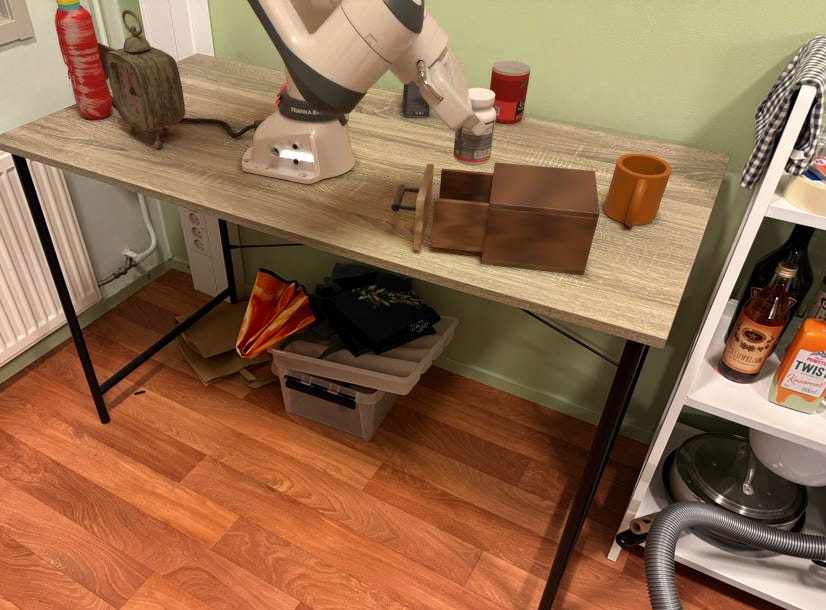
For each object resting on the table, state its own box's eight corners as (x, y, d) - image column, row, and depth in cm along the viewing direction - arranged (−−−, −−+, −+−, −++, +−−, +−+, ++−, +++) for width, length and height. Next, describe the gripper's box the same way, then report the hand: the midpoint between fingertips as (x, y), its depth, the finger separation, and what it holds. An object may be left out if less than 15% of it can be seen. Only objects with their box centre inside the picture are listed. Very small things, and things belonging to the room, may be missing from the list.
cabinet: (481, 264, 108) (489, 202, 101) (486, 220, 118) (494, 162, 111) (583, 275, 105) (599, 213, 98) (580, 229, 115) (595, 170, 108)
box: (429, 117, 152) (432, 68, 145) (403, 117, 152) (406, 68, 145) (426, 104, 158) (429, 56, 151) (402, 104, 158) (404, 56, 151)
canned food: (522, 125, 148) (530, 73, 141) (485, 122, 149) (491, 71, 142) (522, 111, 154) (531, 61, 146) (487, 109, 155) (493, 59, 148)
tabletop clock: (121, 133, 147) (91, 7, 130) (158, 121, 151) (133, -2, 135) (156, 154, 139) (128, 23, 122) (193, 142, 143) (172, 13, 127)
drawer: (387, 246, 110) (388, 197, 104) (399, 208, 119) (401, 161, 114) (504, 259, 107) (513, 209, 101) (508, 219, 116) (516, 171, 110)
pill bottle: (457, 148, 107) (464, 84, 100) (493, 153, 106) (502, 88, 99) (449, 163, 103) (455, 98, 96) (486, 169, 102) (495, 102, 95)
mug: (591, 225, 117) (603, 176, 111) (611, 196, 124) (623, 149, 118) (644, 239, 113) (660, 189, 107) (661, 208, 121) (677, 160, 115)
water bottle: (111, 101, 161) (83, -17, 144) (134, 108, 157) (108, -12, 140) (69, 118, 153) (34, -5, 137) (92, 126, 150) (59, 1, 133)
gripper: (438, 59, 85) (505, 135, 91) (431, 13, 100) (490, 81, 106) (401, 94, 88) (468, 166, 94) (400, 44, 103) (458, 109, 109)
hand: (479, 121), depth 100 cm, fingers closed on pill bottle, 6 cm apart
